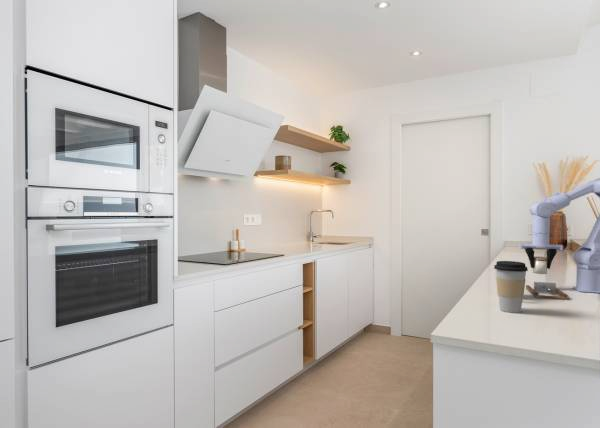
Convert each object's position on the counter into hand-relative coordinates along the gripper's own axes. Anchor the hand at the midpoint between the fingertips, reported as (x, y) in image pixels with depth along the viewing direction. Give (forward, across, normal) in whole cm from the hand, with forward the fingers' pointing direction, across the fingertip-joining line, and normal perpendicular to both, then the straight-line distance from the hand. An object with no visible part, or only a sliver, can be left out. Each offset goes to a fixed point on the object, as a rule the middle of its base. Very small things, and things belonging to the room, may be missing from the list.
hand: (540, 268), depth 158 cm
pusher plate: (+8, 0, +10) cm, 13 cm away
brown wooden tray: (+8, 0, +8) cm, 12 cm away
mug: (+9, +14, +21) cm, 26 cm away
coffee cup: (+9, +16, +39) cm, 43 cm away
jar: (+2, 0, 0) cm, 2 cm away
